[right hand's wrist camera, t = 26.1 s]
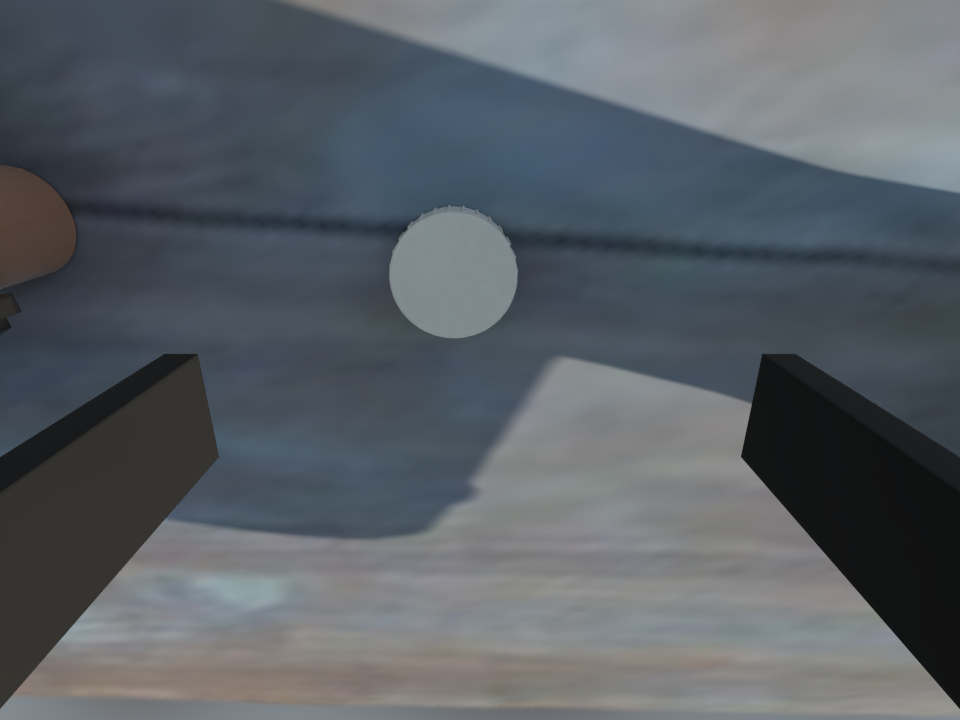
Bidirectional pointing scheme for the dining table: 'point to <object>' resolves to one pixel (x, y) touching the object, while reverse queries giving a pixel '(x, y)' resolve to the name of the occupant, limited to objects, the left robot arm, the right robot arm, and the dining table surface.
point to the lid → (453, 272)
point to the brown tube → (32, 227)
